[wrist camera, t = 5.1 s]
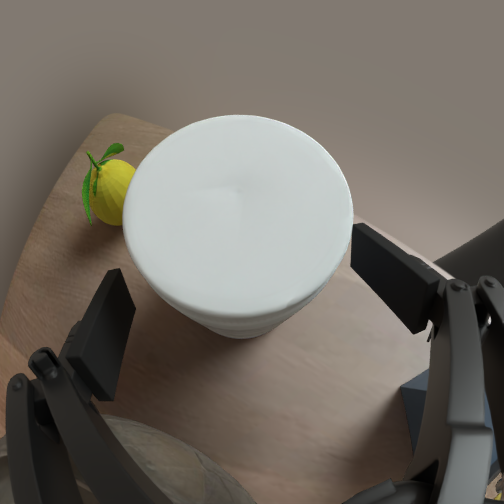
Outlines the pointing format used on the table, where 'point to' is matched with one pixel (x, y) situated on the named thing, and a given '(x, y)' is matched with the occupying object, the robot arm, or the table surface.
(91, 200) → the lemon
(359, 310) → the table surface
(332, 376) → the table surface
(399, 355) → the table surface
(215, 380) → the table surface
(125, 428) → the bowl
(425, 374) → the blue storage bin
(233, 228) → the supplement tub
